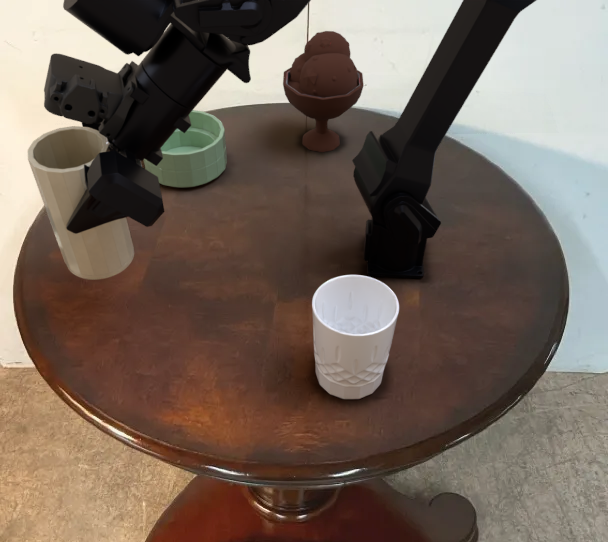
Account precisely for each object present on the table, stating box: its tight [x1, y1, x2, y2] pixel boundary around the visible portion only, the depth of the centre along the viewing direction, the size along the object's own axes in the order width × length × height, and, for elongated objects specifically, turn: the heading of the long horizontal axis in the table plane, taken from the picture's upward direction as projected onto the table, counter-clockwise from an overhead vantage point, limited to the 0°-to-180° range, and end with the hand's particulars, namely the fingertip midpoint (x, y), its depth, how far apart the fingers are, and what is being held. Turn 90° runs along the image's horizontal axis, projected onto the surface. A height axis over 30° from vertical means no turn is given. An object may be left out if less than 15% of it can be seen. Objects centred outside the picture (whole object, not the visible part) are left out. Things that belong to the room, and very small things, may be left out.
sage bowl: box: [142, 109, 228, 188], centre depth 92 cm, size 11×11×6 cm
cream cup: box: [27, 125, 135, 281], centre depth 67 cm, size 7×7×13 cm
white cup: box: [311, 274, 400, 400], centre depth 66 cm, size 8×8×10 cm
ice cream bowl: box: [282, 30, 364, 153], centre depth 94 cm, size 11×11×15 cm
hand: (69, 207), depth 66 cm, fingers closed on cream cup, 7 cm apart
